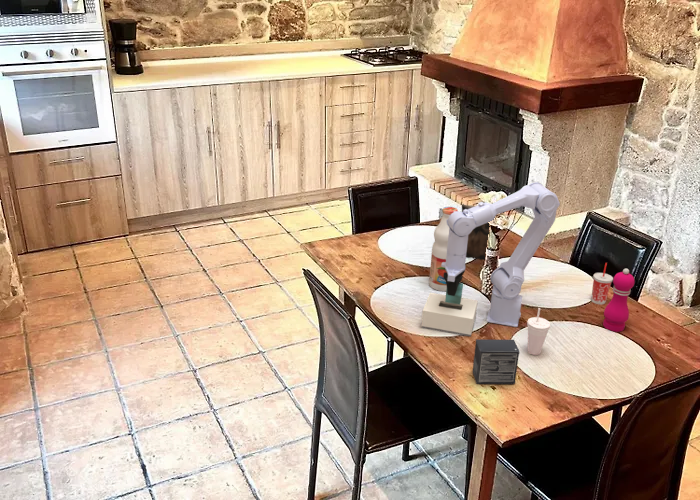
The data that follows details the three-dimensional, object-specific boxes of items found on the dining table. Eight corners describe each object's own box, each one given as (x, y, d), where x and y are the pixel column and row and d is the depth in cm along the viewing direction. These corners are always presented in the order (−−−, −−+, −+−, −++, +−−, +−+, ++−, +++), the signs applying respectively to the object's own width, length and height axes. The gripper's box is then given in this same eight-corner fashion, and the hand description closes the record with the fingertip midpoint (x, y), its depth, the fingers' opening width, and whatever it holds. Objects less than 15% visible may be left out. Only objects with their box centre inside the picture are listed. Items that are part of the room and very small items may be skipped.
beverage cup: (587, 302, 224) (594, 264, 218) (590, 294, 229) (598, 257, 223) (606, 307, 221) (614, 268, 215) (609, 299, 226) (617, 261, 220)
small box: (509, 370, 186) (514, 338, 182) (515, 385, 180) (520, 351, 176) (471, 370, 186) (475, 337, 181) (476, 384, 180) (480, 351, 175)
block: (461, 300, 206) (463, 283, 204) (459, 304, 204) (462, 286, 201) (446, 298, 207) (448, 280, 205) (445, 301, 205) (447, 284, 203)
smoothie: (528, 343, 200) (535, 301, 194) (549, 351, 196) (556, 308, 190) (518, 351, 195) (525, 309, 189) (539, 360, 191) (547, 317, 186)
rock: (497, 259, 252) (504, 209, 244) (468, 263, 248) (474, 213, 239) (479, 245, 263) (485, 197, 255) (451, 250, 258) (456, 200, 250)
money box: (475, 317, 212) (477, 300, 210) (470, 336, 202) (472, 319, 199) (428, 309, 216) (430, 292, 213) (421, 327, 205) (422, 310, 203)
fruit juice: (444, 277, 237) (452, 202, 226) (462, 288, 230) (470, 211, 218) (423, 282, 233) (429, 206, 221) (440, 294, 225) (448, 216, 214)
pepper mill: (610, 333, 206) (623, 275, 198) (596, 322, 212) (608, 264, 204) (630, 331, 208) (644, 273, 199) (616, 319, 214) (629, 262, 206)
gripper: (447, 240, 206) (443, 280, 212) (438, 259, 194) (434, 301, 199) (470, 243, 204) (465, 283, 210) (463, 263, 192) (458, 305, 197)
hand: (452, 292), depth 205 cm, fingers closed on block, 2 cm apart
